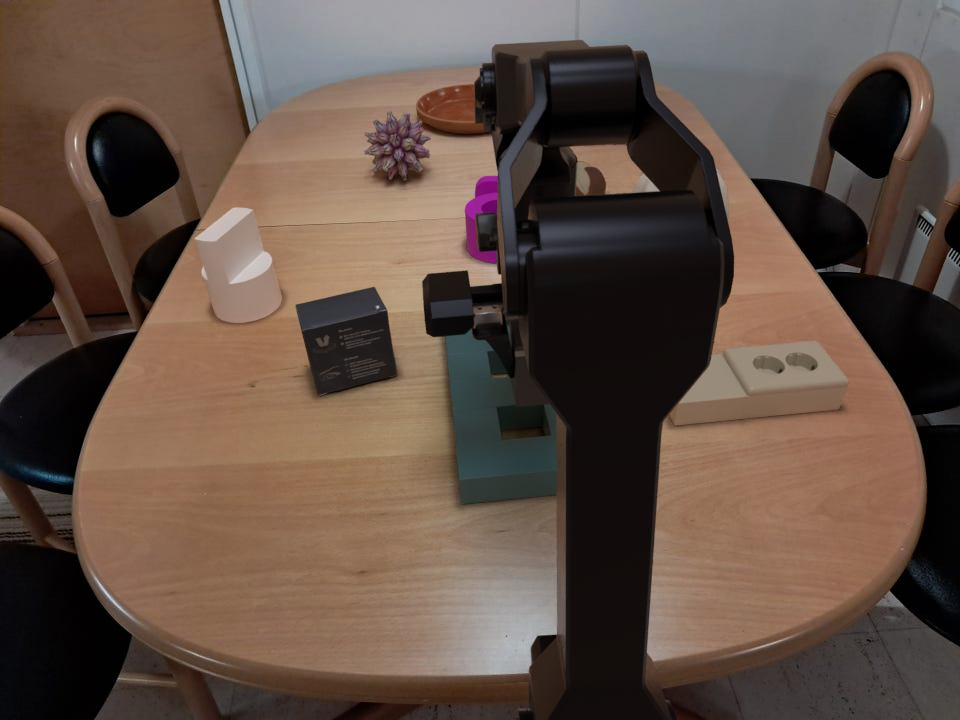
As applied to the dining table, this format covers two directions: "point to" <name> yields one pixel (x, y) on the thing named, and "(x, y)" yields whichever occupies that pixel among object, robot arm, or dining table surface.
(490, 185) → the magenta slotted-back ring holder
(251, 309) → the base with upright slab
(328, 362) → the box
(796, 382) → the electrical outlet
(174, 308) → the dining table surface
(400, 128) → the flower
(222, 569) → the dining table surface
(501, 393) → the teal three-hole plate
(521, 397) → the block
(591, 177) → the bread
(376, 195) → the dining table surface
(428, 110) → the saucer
